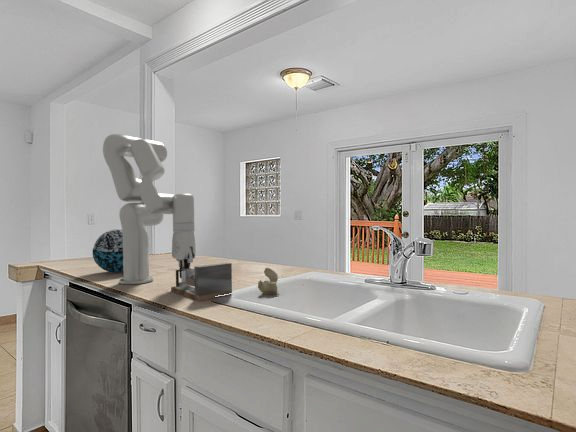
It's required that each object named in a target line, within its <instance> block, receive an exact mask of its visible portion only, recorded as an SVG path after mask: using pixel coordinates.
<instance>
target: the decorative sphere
mask: <svg viewBox="0 0 576 432" xmlns="http://www.w3.org/2000/svg"><path fill="white" fill-rule="evenodd" d="M92 257H93V259H94V260H93V261H94V262H95V264H96V265H97V266H98V267H99V268H100V269H102V270H104V271H106V272H109V273H115V274H117V273H118V274H119V273H123V234H122V229H111V230H109V231H106V232H104V233H102V234H101V235H100V236H99V237H98V238H97V239H96V241H95V242H94V245H93V248H92Z"/></svg>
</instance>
